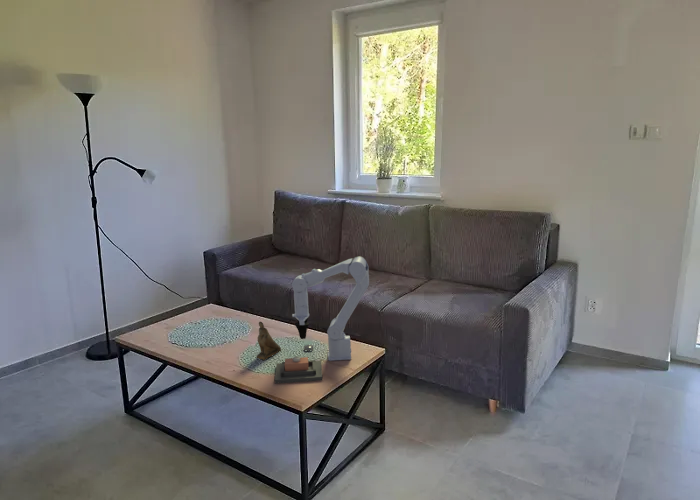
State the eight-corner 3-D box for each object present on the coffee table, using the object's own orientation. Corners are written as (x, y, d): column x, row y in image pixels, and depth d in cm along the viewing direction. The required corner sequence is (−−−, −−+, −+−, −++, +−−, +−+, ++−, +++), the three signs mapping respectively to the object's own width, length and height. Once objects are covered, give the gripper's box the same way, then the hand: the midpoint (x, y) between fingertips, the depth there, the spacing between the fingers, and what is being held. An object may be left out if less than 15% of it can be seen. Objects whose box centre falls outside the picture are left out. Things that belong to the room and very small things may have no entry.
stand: (321, 363, 203) (321, 357, 203) (322, 380, 190) (322, 373, 189) (277, 366, 202) (276, 360, 201) (274, 383, 188) (274, 376, 188)
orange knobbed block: (285, 367, 198) (285, 356, 196) (308, 366, 198) (307, 354, 197) (285, 373, 193) (284, 361, 192) (308, 372, 193) (307, 360, 192)
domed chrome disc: (313, 347, 220) (313, 344, 219) (313, 351, 216) (313, 348, 216) (304, 348, 219) (303, 345, 219) (304, 352, 215) (304, 349, 215)
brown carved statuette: (264, 365, 209) (255, 329, 202) (255, 362, 212) (246, 326, 205) (283, 350, 218) (275, 315, 210) (274, 347, 221) (266, 312, 214)
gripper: (292, 299, 213) (293, 329, 216) (291, 310, 199) (293, 342, 202) (308, 298, 214) (310, 328, 217) (308, 309, 200) (310, 341, 203)
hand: (303, 334), depth 209 cm, fingers open, 7 cm apart
